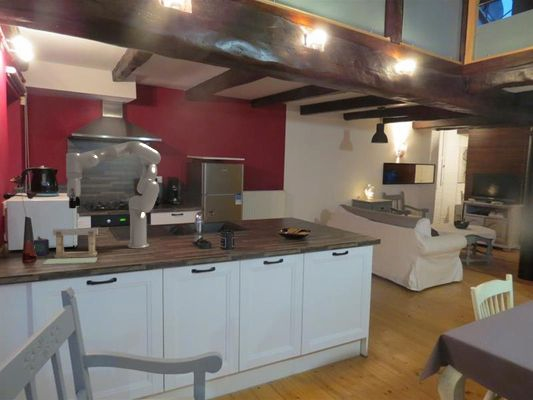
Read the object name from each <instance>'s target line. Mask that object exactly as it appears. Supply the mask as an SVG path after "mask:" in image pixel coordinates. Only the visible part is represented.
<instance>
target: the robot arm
mask: <svg viewBox="0 0 533 400" xmlns="http://www.w3.org/2000/svg"><path fill="white" fill-rule="evenodd" d="M133 156H136V157H138V158H139V161H140V163H141V164H142V174H141V176H140V177H139V181H138V183H137V187H136V190H137V192H138V193H139V194H141V195H134V196H132V197H131V198H130V199H129V200H128V211H129V219H130V220H129V221H130V222H129V223H130V224H129V229H130V230H129V233H130V235H129V236H130V237H129V238H130V239H129V241H130V242H129V243H128V244H127V247H128V248H129V249H144V248H147V247H150V244H149V242H147V213H149V212H151V211H152V210H153V208H154V206H155V204H156V201H157V198H158V196H159V193H160V186H159V183H158V182H157V181H156V178H157V175H158V167H157V165H158V164H160V162H161V160H162V157H161V154H160V152H159V151H157V150H156V149H154V148H152V147H151V146H149V145H147V144H145V143H144V142H141V141H138V140H132V141H127V142H123V143H119V144H115V145H110V146H106V147H105V146H104V147H103V148H102V147H101V148H97V149H93V150H89V151H85V152H82V153H79V152H67V153H66V154H65V157H66V158H65V164H66V165H65V166H66V167H65V171H66V174H65V176H66V177H65V178H66V179H67V182H66V197H68V208H69V209H76V208H77V207H80V206H81V194H82V191H81V190H82V187H81V179H83V167H88V168H89V167H90V168H91V167H95V166H97V165H98V164H99V163H103V162H113V161H119V160H122V159H125V158H129V157H133Z"/></svg>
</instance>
